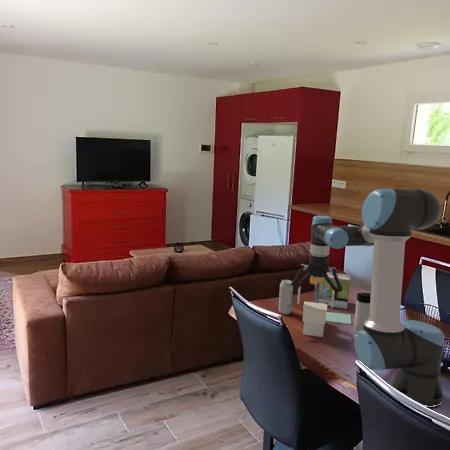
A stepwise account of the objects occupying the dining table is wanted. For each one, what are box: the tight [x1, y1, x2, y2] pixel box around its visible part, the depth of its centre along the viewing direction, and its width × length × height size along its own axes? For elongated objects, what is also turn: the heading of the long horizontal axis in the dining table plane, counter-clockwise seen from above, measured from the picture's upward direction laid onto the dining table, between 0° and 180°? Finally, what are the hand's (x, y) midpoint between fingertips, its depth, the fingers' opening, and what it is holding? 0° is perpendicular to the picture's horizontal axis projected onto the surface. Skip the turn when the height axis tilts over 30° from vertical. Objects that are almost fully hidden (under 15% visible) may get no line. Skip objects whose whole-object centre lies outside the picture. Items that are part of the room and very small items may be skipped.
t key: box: [309, 276, 335, 303], centre depth 191 cm, size 10×9×16 cm
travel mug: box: [352, 291, 371, 342], centre depth 179 cm, size 6×7×20 cm
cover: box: [302, 301, 328, 325], centre depth 184 cm, size 7×9×6 cm
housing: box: [302, 321, 325, 338], centre depth 190 cm, size 16×8×6 cm, turn 166°
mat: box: [326, 311, 352, 325], centre depth 202 cm, size 11×11×1 cm
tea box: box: [319, 271, 351, 310], centre depth 220 cm, size 15×10×15 cm, turn 73°
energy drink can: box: [278, 279, 294, 316], centre depth 206 cm, size 6×6×15 cm
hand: (315, 304), depth 183 cm, fingers open, 13 cm apart
